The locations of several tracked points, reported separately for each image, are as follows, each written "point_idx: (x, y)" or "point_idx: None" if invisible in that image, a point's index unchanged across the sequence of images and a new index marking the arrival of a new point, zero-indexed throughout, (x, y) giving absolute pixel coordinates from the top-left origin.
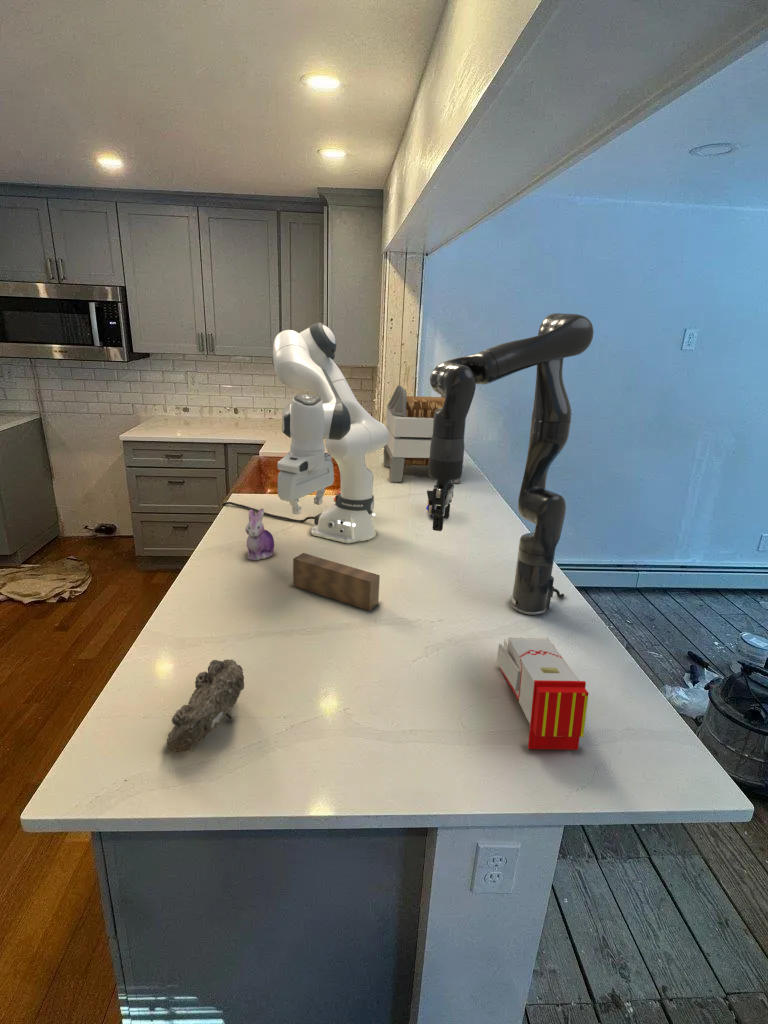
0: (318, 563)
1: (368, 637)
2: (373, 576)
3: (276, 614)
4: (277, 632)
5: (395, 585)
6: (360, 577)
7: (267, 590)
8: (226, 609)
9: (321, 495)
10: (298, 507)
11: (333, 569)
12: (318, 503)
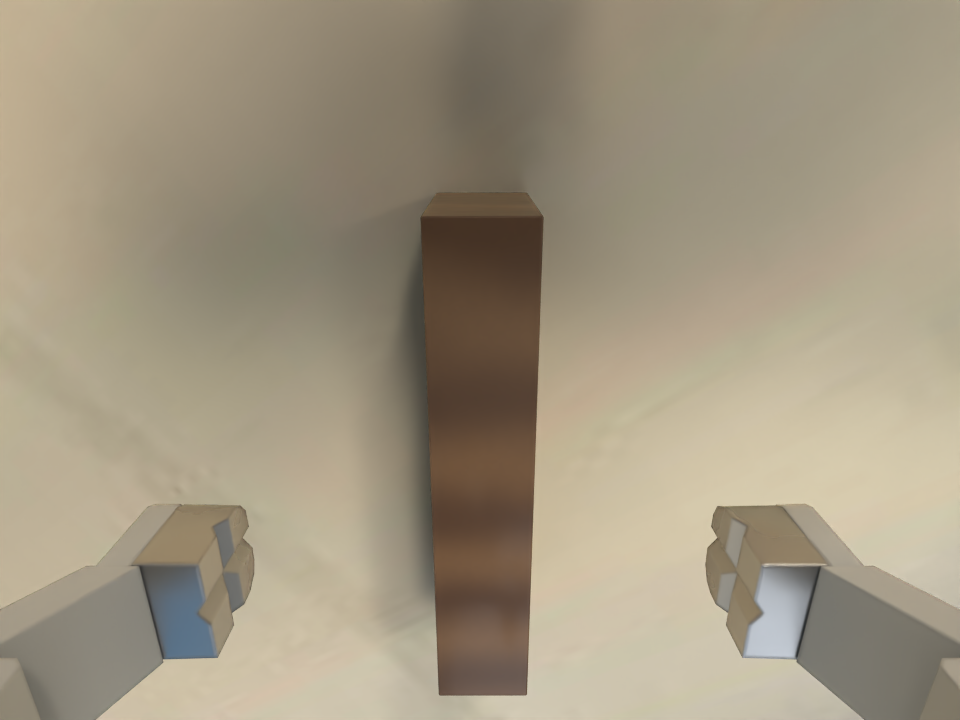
0: (459, 399)
1: (294, 653)
2: (495, 683)
3: (172, 310)
4: (80, 403)
5: (700, 566)
6: (447, 647)
7: (309, 105)
8: (16, 65)
9: (850, 695)
10: (137, 670)
11: (442, 508)
12: (712, 587)
